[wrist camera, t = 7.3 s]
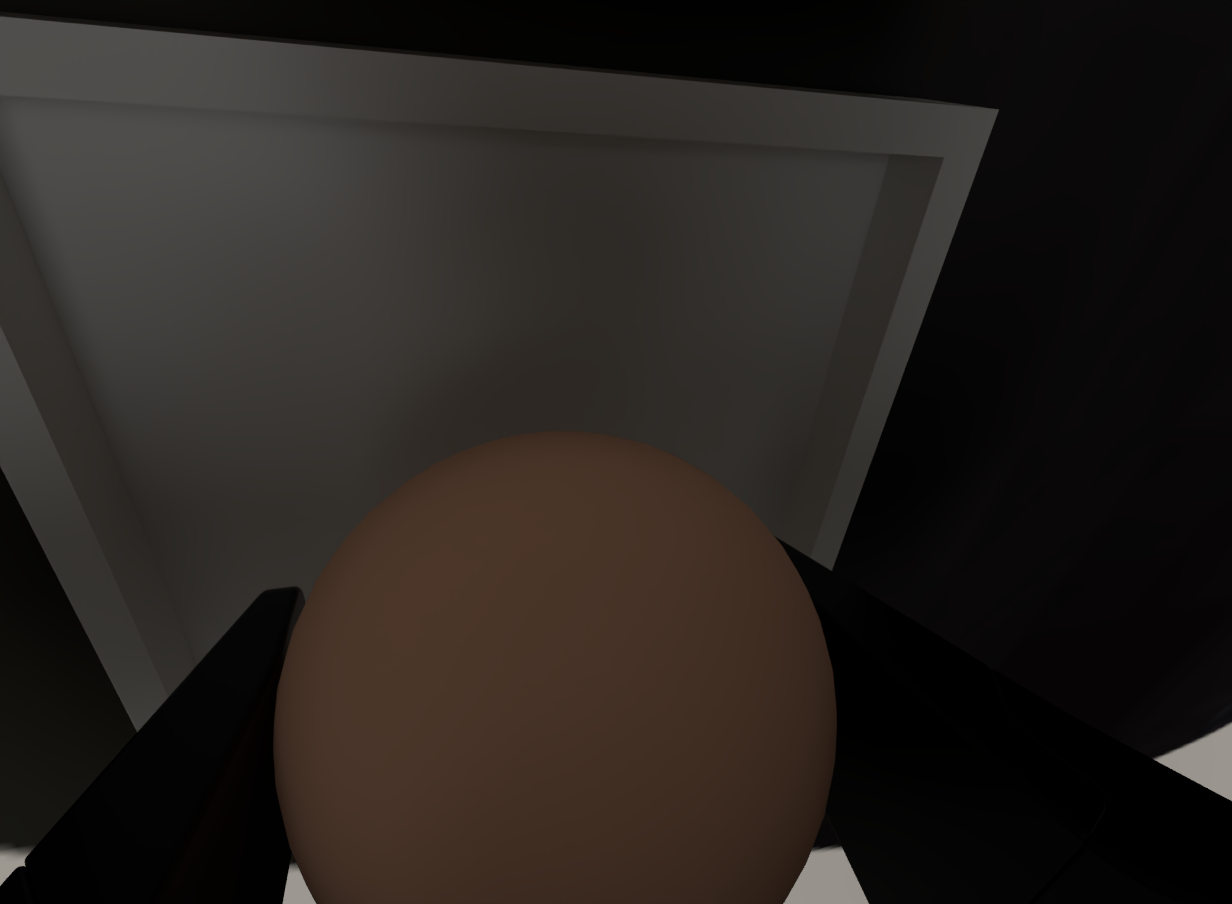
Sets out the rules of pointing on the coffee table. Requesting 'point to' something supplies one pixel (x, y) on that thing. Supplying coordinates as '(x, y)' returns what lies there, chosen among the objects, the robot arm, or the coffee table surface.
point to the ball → (556, 690)
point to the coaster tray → (424, 295)
